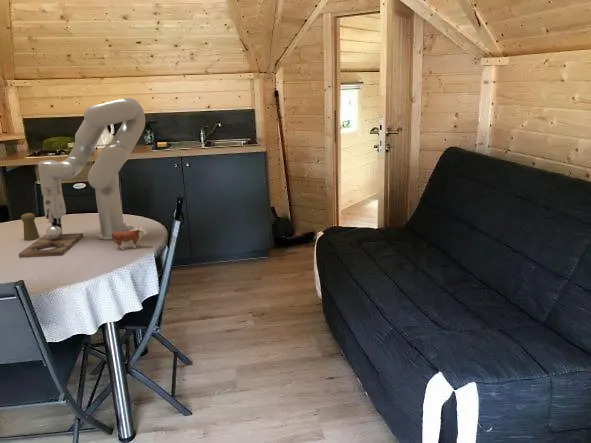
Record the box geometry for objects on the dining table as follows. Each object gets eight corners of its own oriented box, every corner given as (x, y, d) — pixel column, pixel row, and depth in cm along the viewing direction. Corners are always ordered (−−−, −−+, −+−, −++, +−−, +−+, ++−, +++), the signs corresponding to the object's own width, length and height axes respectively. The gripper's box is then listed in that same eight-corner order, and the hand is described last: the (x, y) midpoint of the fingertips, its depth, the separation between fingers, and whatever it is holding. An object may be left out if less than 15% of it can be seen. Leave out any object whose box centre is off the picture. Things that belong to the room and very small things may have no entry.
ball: (65, 231, 207) (59, 221, 203) (63, 241, 202) (57, 230, 198) (51, 234, 206) (44, 224, 202) (48, 244, 201) (42, 233, 197)
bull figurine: (148, 248, 193) (145, 228, 191) (112, 250, 192) (110, 231, 189) (149, 244, 197) (147, 225, 195) (115, 247, 196) (112, 227, 193)
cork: (33, 240, 207) (28, 215, 204) (20, 240, 208) (15, 215, 205) (42, 236, 213) (38, 212, 210) (30, 235, 214) (26, 211, 211)
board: (45, 238, 210) (44, 234, 210) (83, 236, 211) (82, 233, 211) (19, 257, 187) (18, 253, 187) (62, 255, 188) (61, 251, 188)
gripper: (53, 194, 195) (59, 238, 200) (68, 186, 209) (73, 227, 214) (34, 194, 195) (40, 238, 200) (50, 186, 209) (56, 228, 214)
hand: (57, 232), depth 207 cm, fingers closed
